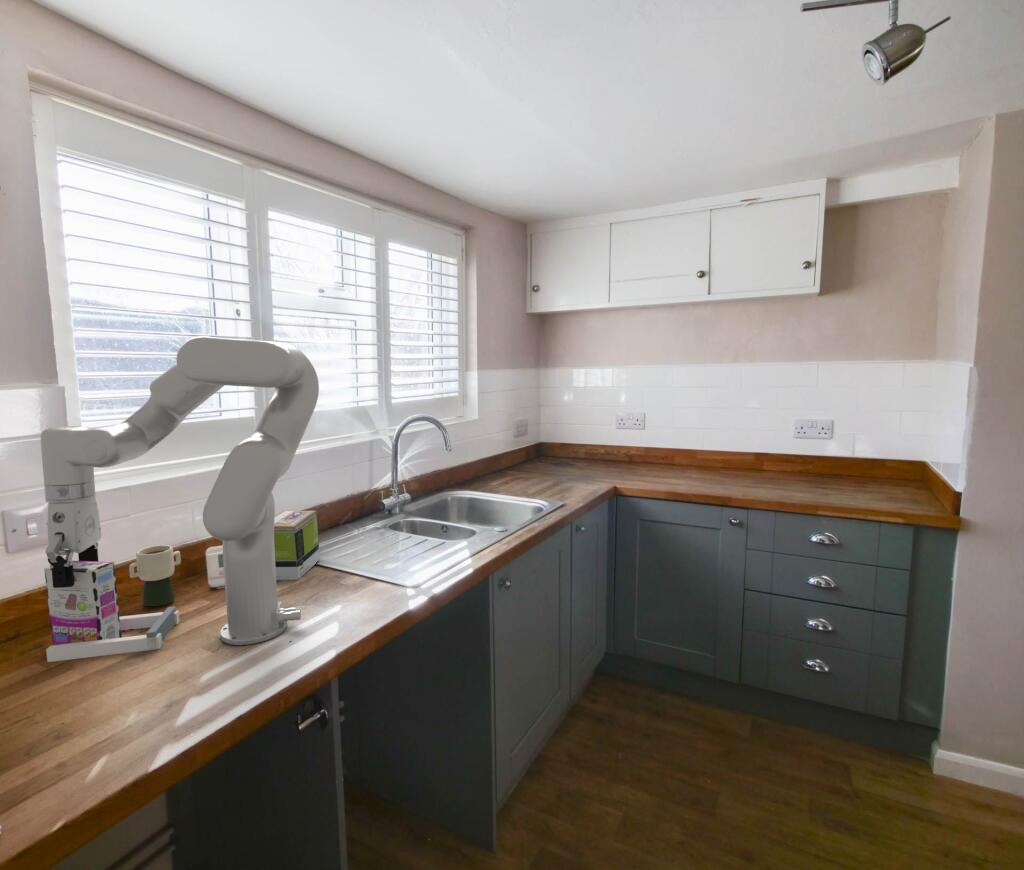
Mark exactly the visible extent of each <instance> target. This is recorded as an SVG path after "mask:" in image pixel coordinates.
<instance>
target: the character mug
mask: <svg viewBox="0 0 1024 870" xmlns="http://www.w3.org/2000/svg"><path fill="white" fill-rule="evenodd" d="M173 548H174V547H173V546H172V545H171V544H170V545H168V544H158V545H153V546H151V545H150V546H146V547H144V548H140V549H138V550H137V551H136V553H135V556H136V561H135V562H133V563H130V564H129V566H128V568H129V570H128V571H129V577H130V578H131V579H135V578H137V577H138V578H139V579H140V580H141V581H144V584H143V591H142V592H143V593H142V605H143V606H147V607H159V606H164V605H167V604H171V603H172V602H173V601H174V600H175V599H176V595H175V590H174V586H173V583H172V580H171V578H170V577H171V576H173V575H174V573H175V569H176V568H175V566H178V565H180V564H181V563H182V562H181V561H182V559H181V557H182V556H181V552H180V550H177V551H174V549H173ZM174 558H175V559H174ZM135 567H136V571H137V572H136V571H135Z"/></svg>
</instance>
